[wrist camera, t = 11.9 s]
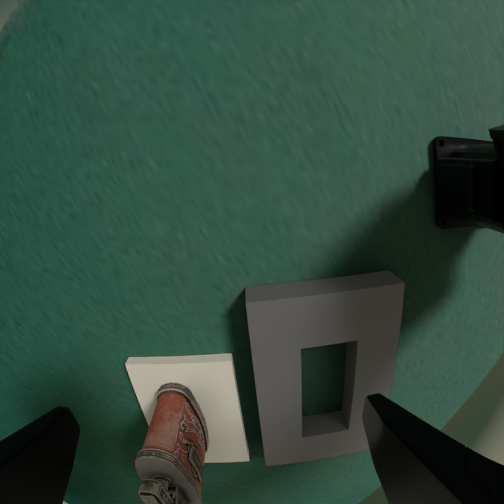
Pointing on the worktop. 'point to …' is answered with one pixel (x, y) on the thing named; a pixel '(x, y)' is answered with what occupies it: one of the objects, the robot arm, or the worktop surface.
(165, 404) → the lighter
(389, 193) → the worktop surface
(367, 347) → the grey rectangular frame
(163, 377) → the rubber mat
